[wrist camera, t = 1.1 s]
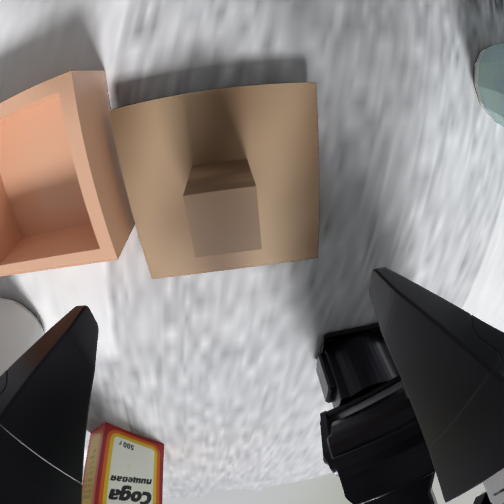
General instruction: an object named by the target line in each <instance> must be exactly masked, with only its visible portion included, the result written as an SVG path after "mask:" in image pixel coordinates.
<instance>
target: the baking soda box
mask: <svg viewBox="0 0 504 504" xmlns="http://www.w3.org/2000/svg"><path fill="white" fill-rule="evenodd" d="M163 457H164V444H161V443H158V442H155V441H152V440H150V439H147V438H144V437H141V436H138V435H136V434H133V433H131V432H128V431H125V430H123V429H120V428H118V427H115V426H113V425H111V424H108V423H106V422H105V423H104V424H103V425H101V426H100V427H99V428H97V429H96V430H94V431H93V432H92V433H91V435H90V440H89V446H88V452H87V457H86V464H85V470H84V477H83V484H82V504H162V485H163Z"/></svg>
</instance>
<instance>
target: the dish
mask: <svg viewBox="0 0 504 504" xmlns="http://www.w3.org/2000/svg"><path fill="white" fill-rule="evenodd" d="M110 110H111V108H110V102H109V96H108V90H107V83H106V76H105V71H91V70H79V71H69V72H66V73H64V74H61V75H59V76H56V77H54V78H51V79H49V80H47V81H44V82H42V83H40V84H38V85H35V86H33V87H31V88H29V89H27V90H25V91H23V92H21V93H19V94H17V95H15V96H13V97H11V98H9V99H7V100H5V101H3V102H1V103H0V277H1V276H7V275H14V274H21V273H28V272H34V271H41V270H48V269H55V268H62V267H69V266H76V265H83V264H90V263H98V262H105V261H112V260H118V258H119V256H120V254H121V252H122V250H123V248H124V245H125V243H126V241H127V239H128V237H129V235H130V233H131V231H132V229H133V227H134V225H135V221H134V218H133V214H132V210H131V206H130V203H129V199H128V195H127V191H126V187H125V183H124V179H123V174H122V170H121V166H120V161H119V157H118V152H117V148H116V143H115V138H114V133H113V128H112V122H111V117H110Z"/></svg>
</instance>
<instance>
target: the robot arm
mask: <svg viewBox="0 0 504 504" xmlns="http://www.w3.org/2000/svg"><path fill="white" fill-rule="evenodd" d="M369 296H370V299H371V302H372V305H373V308H374V311H375V314H376V317H377V320H378V324H373V325H369V326H364V327H359V328H355V329H350V330H345V331H340V332H335V333H329V334H326V335H324V336H323V338H322V347H321V353H319V355H318V359H317V368H316V370H317V374H318V377H319V380H320V384H321V387H322V391H323V394H324V398H325V401H326V402H328V403H330V402H332V404H333V407H334V409H331V410H329V411H325V412H322V413H320V417H321V421H320V425H321V436H322V448H323V460H324V462H325V463H326V464H328V465H329V467H330V469H331V470H332V472H333V473H335V475H337V476H339V477H340V480H341V483H342V487H343V490H344V494H345V497H346V498H347V499H348V500H349V501H350V502H351V503H352V504H437V501H436V498H435V495H434V493H433V490H432V483H433V479H434V475H435V471H436V474H437V477H438V480H439V483H440V487H441V490H442V494H443V497H444V500H445V502H448V501H450V500H452V499H454V498H456V497H458V496H460V495H461V494H463V493H465V492H467V491H469V490H470V489H472V488H474V487H475V486H477V485H479V484H481V483H482V482H483V483H484V486H485V489H486V492H484V493H482V494H481V495H480V496H478V497H476V498H475V501H474V504H504V332H502V331H500V330H498V329H496V328H494V327H492V326H490V325H488V324H487V323H485V322H483V321H481V320H480V319H478V318H476V317H475V316H473V315H470V314H469V313H468V312H466V311H464V310H462V309H461V308H459V307H457V306H455V305H454V304H452V303H450V302H448V301H447V300H445V299H443V298H441V297H439V296H438V295H436V294H434V293H432V292H430V291H429V290H427V289H425V288H423V287H421V286H420V285H418V284H416V283H414V282H412V281H410V280H408V279H407V278H405V277H403V276H401V275H399V274H397V273H395V272H394V271H392V270H390V269H388V268H386V267H383V268H377V269H374V270H373V271H372V275H371V281H370V287H369ZM97 340H98V324H97V322H96V320H95V318H94V316H93V315H92V313H91V311H90V309H89V307H88V306H85V305H84V306H76V307H75V308H73V309H72V310H71V311H70V312H69V313H68V314H66V315H65V316H64V317H63V318H62V319H61V320H60V321H59V322H57V323H56V324H55V325H54V326H53V327H52V328H51V329H50V330H48V331H47V332H46V333H45V334H44V335H43V336H42V337H41V338H40V339H39V340H37V341H36V342H35V343H34V344H33V345H32V346H31V347H30V348H29V349H28V350H27V351H26V352H25V353H24V354H23V355H21V356H20V357H19V358H18V359H17V360H16V361H15V362H14V363H13V364H12V365H11V366H10V367H9V368H8V370H6V371H5V372H4V373H3V374H2V375H1V376H0V504H82V476H83V459H84V447H85V437H86V427H87V419H88V411H89V404H90V397H91V391H92V384H93V378H94V372H95V363H96V351H97Z"/></svg>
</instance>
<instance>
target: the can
mask: <svg viewBox="0 0 504 504" xmlns="http://www.w3.org/2000/svg"><path fill="white" fill-rule="evenodd" d="M44 334H45V333H44V331H43V329H42V327H41V324H40V323H39V321H38V319H37V318H36V317H35V315H34V314H33V313H32V312H31V311H30V310H29V309H27V308H26V307H25V306H24V305H22V304H21V303H19V302H17V301H15V300H11V299H3V298H0V376H1V375H2V374H3V373H4V372H5V371H6V370H8V368H9V367H10V366H11V365H12V364H13V363H14V362H15V361H16V360H17V359H18V358H19V357H20V356H21V355H23V354H24V353H25V352H26V351H27V350H28V349H29V348H30V347H31V346H32V345H33V344H34V343H35V342H36V341H37V340H39V339H40V338H41V337H42V336H43V335H44Z"/></svg>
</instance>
